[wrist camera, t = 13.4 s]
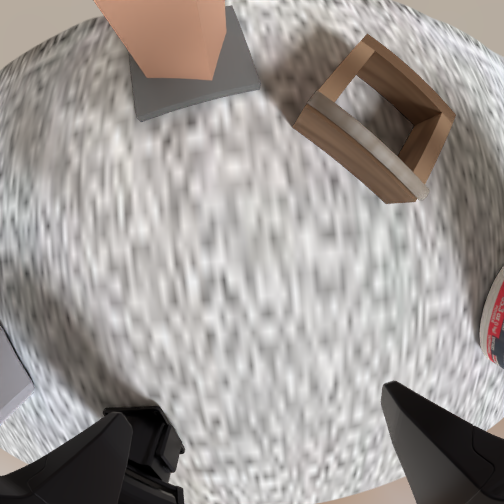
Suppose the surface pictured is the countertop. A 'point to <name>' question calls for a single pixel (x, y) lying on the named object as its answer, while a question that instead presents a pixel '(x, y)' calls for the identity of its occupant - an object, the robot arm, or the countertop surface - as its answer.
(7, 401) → the soap bottle
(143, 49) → the block
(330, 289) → the countertop surface
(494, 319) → the supplement tub
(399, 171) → the open wooden box
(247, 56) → the pad
